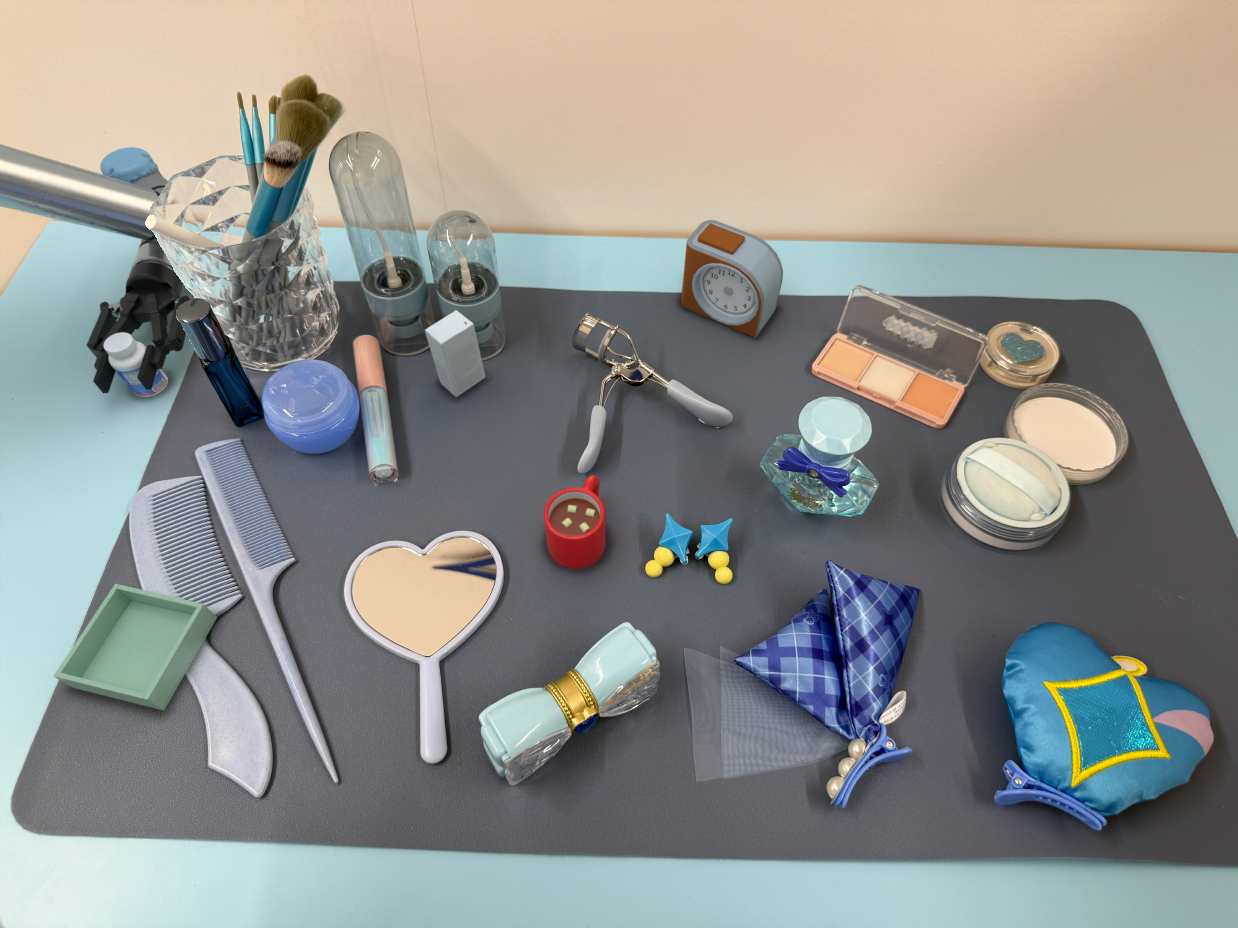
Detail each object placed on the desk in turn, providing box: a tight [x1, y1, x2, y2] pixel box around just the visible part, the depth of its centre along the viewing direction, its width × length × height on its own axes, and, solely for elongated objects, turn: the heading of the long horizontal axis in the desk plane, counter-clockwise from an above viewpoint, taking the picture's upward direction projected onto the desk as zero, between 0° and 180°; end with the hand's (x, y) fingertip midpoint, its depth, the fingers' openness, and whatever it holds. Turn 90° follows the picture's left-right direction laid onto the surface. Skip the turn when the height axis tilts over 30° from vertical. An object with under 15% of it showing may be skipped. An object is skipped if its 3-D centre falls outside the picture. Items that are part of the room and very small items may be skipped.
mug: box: [543, 474, 606, 570], centre depth 102 cm, size 8×12×8 cm, turn 164°
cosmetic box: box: [424, 309, 486, 398], centre depth 116 cm, size 6×4×12 cm
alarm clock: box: [680, 219, 784, 339], centre depth 125 cm, size 15×8×14 cm, turn 58°
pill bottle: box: [104, 332, 169, 398], centre depth 116 cm, size 6×5×10 cm
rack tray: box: [53, 583, 218, 712], centre depth 94 cm, size 12×12×4 cm
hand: (122, 385), depth 112 cm, fingers closed on pill bottle, 5 cm apart
